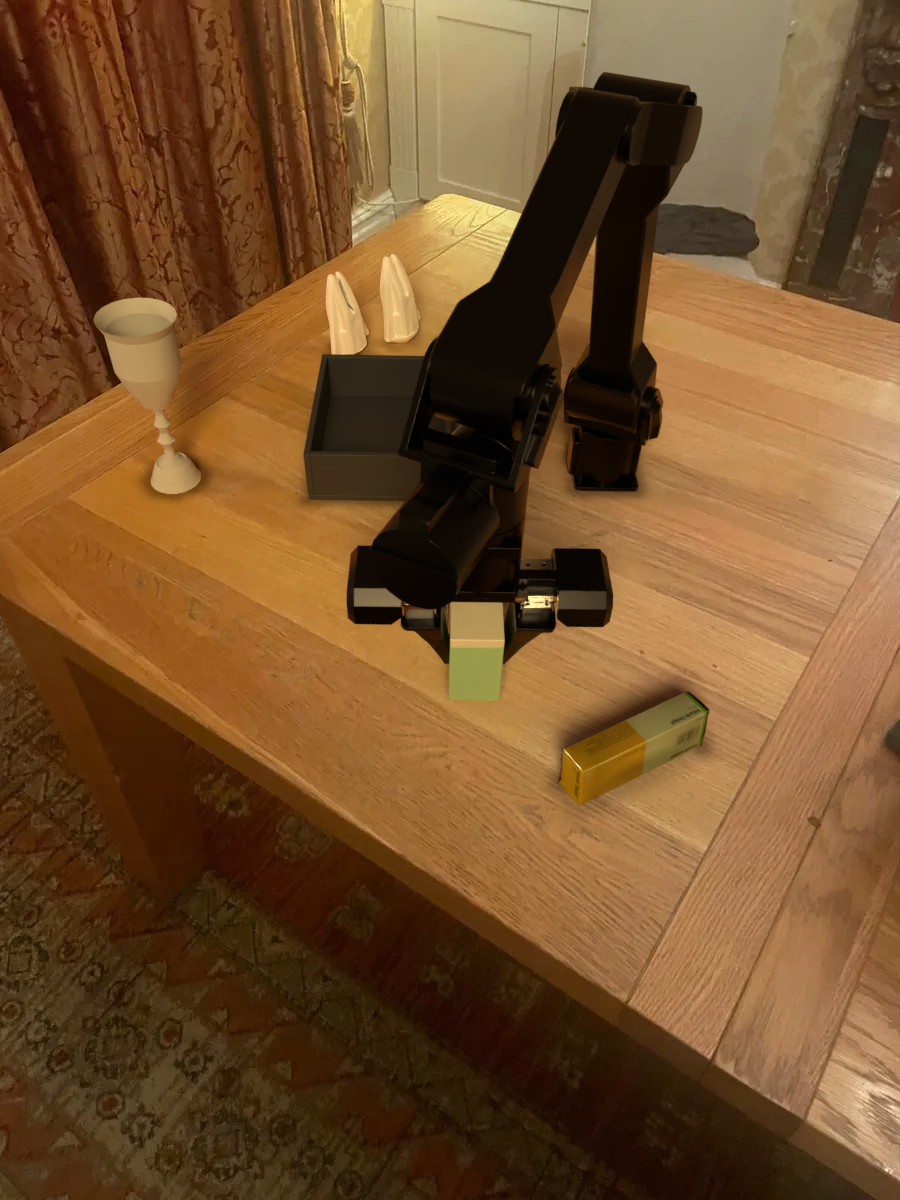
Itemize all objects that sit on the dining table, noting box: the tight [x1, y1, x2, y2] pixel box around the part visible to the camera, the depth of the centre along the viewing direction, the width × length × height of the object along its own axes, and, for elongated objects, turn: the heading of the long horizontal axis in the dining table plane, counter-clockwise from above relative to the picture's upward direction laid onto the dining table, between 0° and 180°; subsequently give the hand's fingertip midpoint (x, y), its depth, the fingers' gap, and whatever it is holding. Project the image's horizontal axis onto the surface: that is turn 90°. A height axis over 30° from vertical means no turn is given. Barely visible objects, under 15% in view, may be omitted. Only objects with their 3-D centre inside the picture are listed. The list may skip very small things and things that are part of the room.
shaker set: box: [325, 253, 421, 355], centre depth 108 cm, size 12×4×11 cm, turn 108°
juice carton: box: [448, 602, 505, 702], centre depth 70 cm, size 4×5×7 cm
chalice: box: [93, 297, 202, 495], centre depth 86 cm, size 7×7×18 cm
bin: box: [302, 353, 452, 502], centre depth 95 cm, size 14×18×6 cm
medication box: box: [558, 690, 711, 806], centre depth 68 cm, size 12×3×4 cm, turn 119°
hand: (474, 659), depth 72 cm, fingers closed on juice carton, 4 cm apart
